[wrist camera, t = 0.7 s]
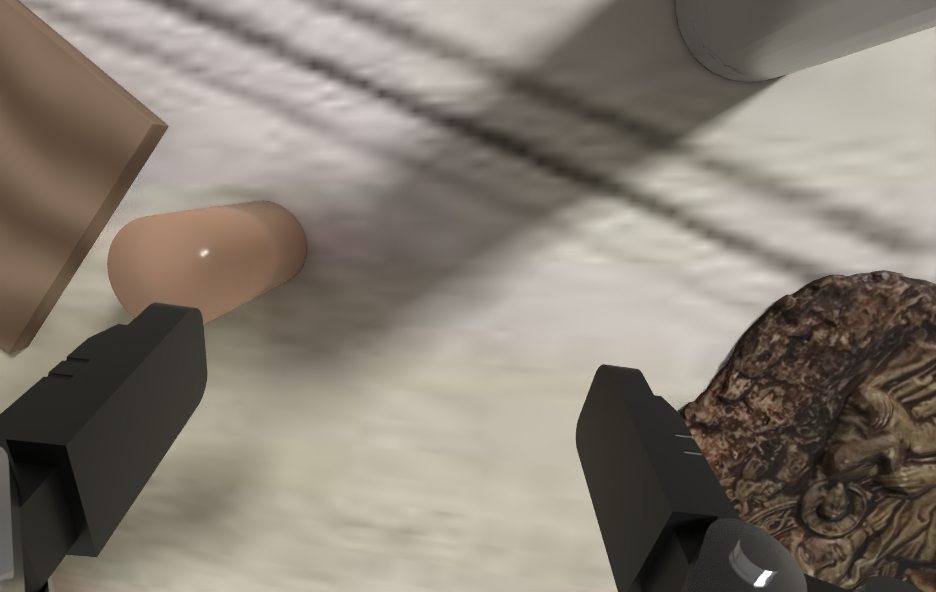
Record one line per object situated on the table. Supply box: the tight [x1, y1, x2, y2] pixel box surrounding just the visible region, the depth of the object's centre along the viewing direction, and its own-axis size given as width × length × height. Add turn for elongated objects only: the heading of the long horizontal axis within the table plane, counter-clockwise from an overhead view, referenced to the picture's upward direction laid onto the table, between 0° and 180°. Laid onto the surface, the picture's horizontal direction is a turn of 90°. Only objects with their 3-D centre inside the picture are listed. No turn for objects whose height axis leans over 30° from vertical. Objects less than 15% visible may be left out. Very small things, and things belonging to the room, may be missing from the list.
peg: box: [107, 201, 307, 325], centre depth 28 cm, size 6×6×10 cm
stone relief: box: [680, 270, 936, 592], centre depth 33 cm, size 26×4×30 cm
